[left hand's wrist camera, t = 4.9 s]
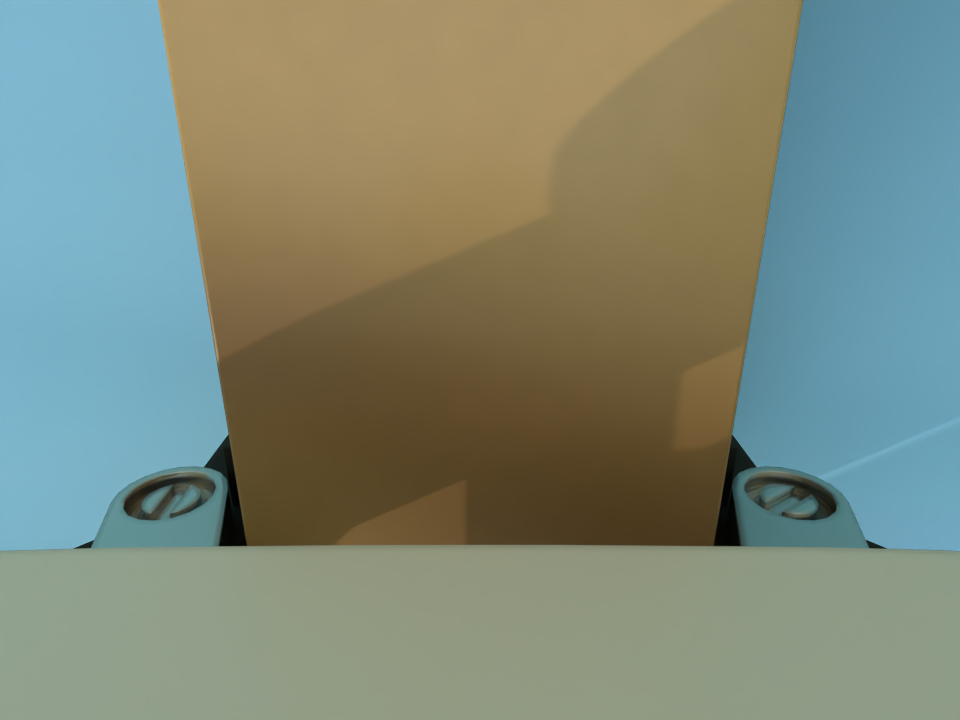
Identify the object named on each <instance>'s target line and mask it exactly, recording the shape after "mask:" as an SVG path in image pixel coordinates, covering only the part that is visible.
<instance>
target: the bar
mask: <svg viewBox="0 0 960 720" xmlns="http://www.w3.org/2000/svg"><path fill="white" fill-rule="evenodd" d="M158 4H159V11H160V17H161V23H162V29H163V35H164V41H165V47H166V53H167V60H168V66H169V72H170V78H171V84H172V90H173V96H174V102H175V109H176V115H177V121H178V127H179V133H180V139H181V145H182V151H183V157H184V164H185V170H186V176H187V182H188V188H189V194H190V200H191V206H192V213H193V219H194V225H195V231H196V237H197V243H198V249H199V255H200V262H201V268H202V274H203V280H204V286H205V292H206V298H207V304H208V311H209V317H210V323H211V329H212V335H213V341H214V347H215V353H216V360H217V366H218V372H219V378H220V384H221V390H222V396H223V402H224V409H225V415H226V421H227V427H228V433H229V439H230V445H231V451H232V457H233V464H234V470H235V476H236V482H237V488H238V494H239V500H240V506H241V513H242V519H243V525H244V531H245V537H246V543H247V546H310V545H629V546H714V541H715V535H716V529H717V523H718V517H719V511H720V504H721V498H722V492H723V486H724V480H725V474H726V468H727V462H728V456H729V450H730V443H731V437H732V431H733V425H734V419H735V413H736V407H737V401H738V395H739V389H740V382H741V376H742V370H743V364H744V358H745V352H746V346H747V340H748V334H749V327H750V321H751V315H752V309H753V303H754V297H755V291H756V285H757V279H758V273H759V266H760V260H761V254H762V248H763V242H764V236H765V230H766V224H767V218H768V212H769V205H770V199H771V193H772V187H773V181H774V175H775V169H776V163H777V157H778V151H779V144H780V138H781V132H782V126H783V120H784V114H785V108H786V102H787V96H788V90H789V83H790V77H791V71H792V65H793V59H794V53H795V47H796V41H797V35H798V28H799V22H800V16H801V10H802V4H803V0H158Z"/></svg>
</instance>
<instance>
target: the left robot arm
mask: <svg viewBox="0 0 960 720" xmlns="http://www.w3.org/2000/svg"><path fill="white" fill-rule="evenodd" d="M0 720H960V551H945V550H911V549H887V548H884V547H882V546H879V545H877V544H875V543H872V542H870V541H867V540H865V538H864V535H863V533H862V531H861V529H860V526H859V524H858V522H857V520H856V517H855V515H854V513H853V511H852V508H851V506H850V504H849V502H848V501H847V499H846V498H845V497H844V495H843V494H842V493H841V492H840V491H838V490H837V489H836V488H835V487H833V486H832V485H831V484H829V483H827V482H825V481H823V480H821V479H819V478H817V477H815V476H812V475H809V474H806V473H803V472H801V471H797V470H792V469H787V468H782V467H765V466H764V467H756V466H755V465H754V463H753V462H752V461H751V459H750V458H749V456H748V455H747V454H746V452H745V451H744V450H743V448H742V447H741V446H740V444H739V443H738V442H737V440H736V439H735V438H734V436H733V435H732V437H731V443H730V450H729V456H728V462H727V468H726V474H725V480H724V486H723V492H722V498H721V504H720V511H719V517H718V523H717V529H716V535H715V541H714V546H629V545H310V546H247V543H246V537H245V531H244V525H243V519H242V513H241V506H240V500H239V494H238V488H237V482H236V476H235V470H234V464H233V457H232V451H231V445H230V439H229V434H228V436H227V437H226V438H225V440H224V441H223V442H222V444H221V445H220V447H219V448H218V449H217V451H216V452H215V453H214V455H213V456H212V457H211V459H210V460H209V461H208V463H207V464H206V465H205V467H196V466H195V467H178V468H173V469H168V470H163V471H159V472H157V473H154V474H151V475H148V476H145V477H143V478H141V479H139V480H137V481H135V482H133V483H131V484H129V485H128V486H127V487H125V488H124V489H123V490H122V491H120V492H119V493H118V494H117V495H116V497H115V498H114V499H113V501H112V502H111V504H110V506H109V508H108V511H107V513H106V515H105V517H104V520H103V522H102V524H101V526H100V529H99V531H98V533H97V535H96V538H95V540H93V541H91V542H88V543H86V544H83V545H81V546H79V547H76V548H74V549H50V550H17V551H0Z"/></svg>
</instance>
